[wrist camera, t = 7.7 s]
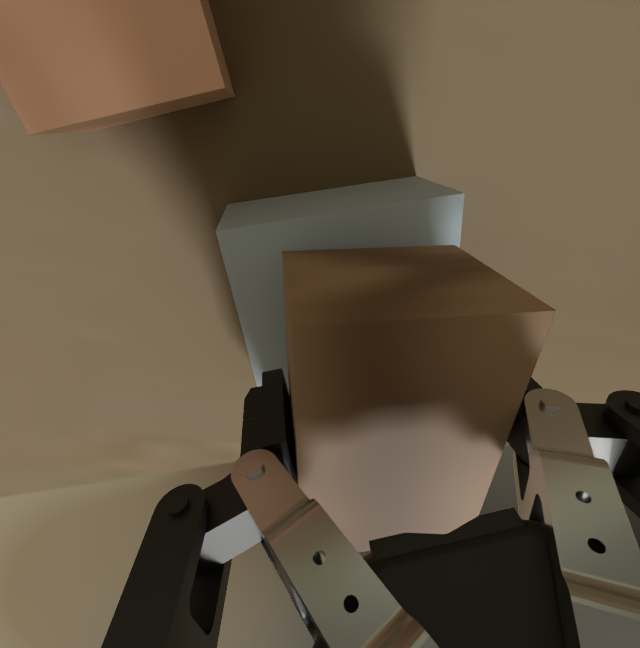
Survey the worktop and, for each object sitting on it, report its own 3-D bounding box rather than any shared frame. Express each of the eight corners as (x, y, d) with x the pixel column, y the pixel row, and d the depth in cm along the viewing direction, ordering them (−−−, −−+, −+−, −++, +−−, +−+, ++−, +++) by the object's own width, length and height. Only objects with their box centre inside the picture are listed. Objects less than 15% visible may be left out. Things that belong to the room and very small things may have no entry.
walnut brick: (454, 244, 12) (556, 310, 8) (417, 430, 17) (470, 536, 12) (281, 251, 12) (291, 326, 7) (291, 443, 16) (301, 560, 12)
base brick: (414, 175, 17) (464, 193, 13) (410, 358, 23) (444, 413, 18) (228, 202, 17) (215, 231, 12) (271, 383, 22) (273, 446, 18)
